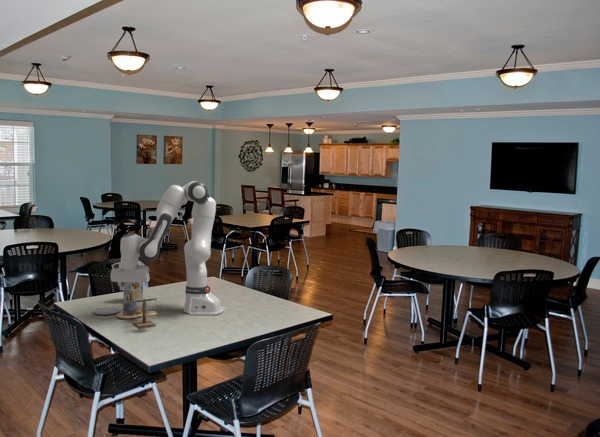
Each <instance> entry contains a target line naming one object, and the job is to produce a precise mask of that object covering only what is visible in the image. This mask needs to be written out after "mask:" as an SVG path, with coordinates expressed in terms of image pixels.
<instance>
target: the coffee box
mask: <svg viewBox="0 0 600 437" xmlns="http://www.w3.org/2000/svg"><path fill="white" fill-rule="evenodd" d="M122 286H123V287H124V290H122V291H123V303H126V302H132V301H138V300H143V299H144V290H143V288H144V287H143V286H144V284H143V285H142V287H141V291H137V288H138V287H139V286H140V285H139V283H133V282H122Z"/></svg>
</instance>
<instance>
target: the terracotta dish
mask: <svg viewBox="0 0 600 437" xmlns="http://www.w3.org/2000/svg"><path fill="white" fill-rule="evenodd" d="M116 317H117V318H118V319H123V320H124V319H125V320H126V319H127V320H129V319H137V318H141V316H138V317H135V316H129V315H123V311H119V312H118V313H116Z"/></svg>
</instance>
